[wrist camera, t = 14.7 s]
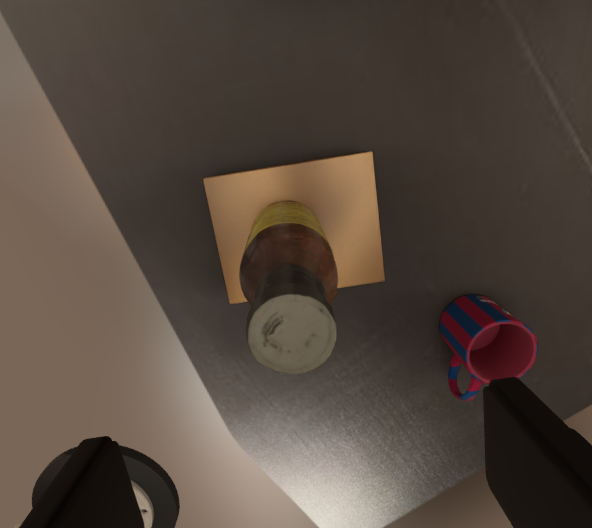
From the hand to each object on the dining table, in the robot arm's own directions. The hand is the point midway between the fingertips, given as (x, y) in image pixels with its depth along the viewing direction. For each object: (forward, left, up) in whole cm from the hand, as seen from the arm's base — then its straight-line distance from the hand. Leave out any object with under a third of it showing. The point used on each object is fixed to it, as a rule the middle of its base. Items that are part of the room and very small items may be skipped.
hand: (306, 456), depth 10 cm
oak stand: (0, 0, -31) cm, 31 cm away
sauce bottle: (-1, 0, -27) cm, 27 cm away
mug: (+16, -15, -31) cm, 38 cm away
